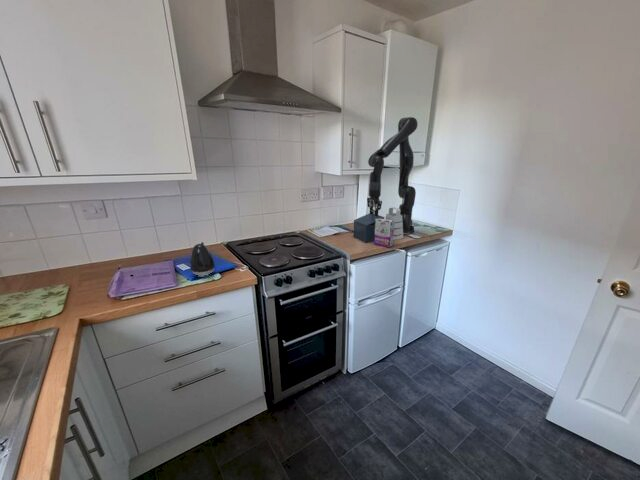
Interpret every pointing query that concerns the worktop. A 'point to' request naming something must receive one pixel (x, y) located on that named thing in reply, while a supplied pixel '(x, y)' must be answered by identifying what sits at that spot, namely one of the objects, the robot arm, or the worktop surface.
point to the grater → (396, 222)
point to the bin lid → (368, 219)
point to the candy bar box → (384, 232)
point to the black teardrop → (201, 261)
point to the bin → (364, 232)
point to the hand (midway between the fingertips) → (373, 214)
